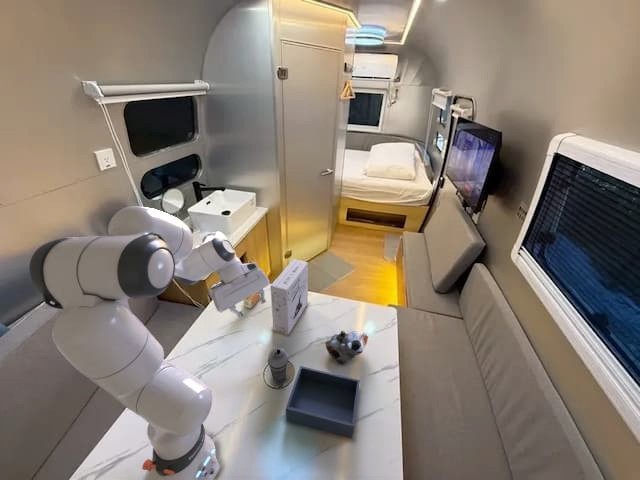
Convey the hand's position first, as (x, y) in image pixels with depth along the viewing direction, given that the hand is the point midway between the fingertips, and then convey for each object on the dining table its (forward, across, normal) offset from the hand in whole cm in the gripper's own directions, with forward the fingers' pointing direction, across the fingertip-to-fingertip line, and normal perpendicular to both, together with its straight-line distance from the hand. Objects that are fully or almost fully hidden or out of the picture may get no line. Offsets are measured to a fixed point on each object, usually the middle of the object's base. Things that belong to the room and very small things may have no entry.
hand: (253, 309), depth 95 cm
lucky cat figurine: (+35, +27, +3) cm, 45 cm away
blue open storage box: (+40, +4, -2) cm, 41 cm away
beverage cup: (+28, 0, +11) cm, 30 cm away
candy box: (-2, +19, +40) cm, 44 cm away
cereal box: (+13, +25, +25) cm, 38 cm away
